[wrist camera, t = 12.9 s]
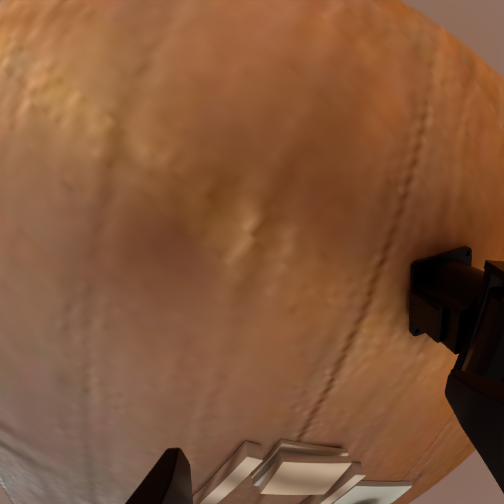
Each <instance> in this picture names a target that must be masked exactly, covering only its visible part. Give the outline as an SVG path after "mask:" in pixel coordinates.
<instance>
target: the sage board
mask: <svg viewBox="0 0 504 504" xmlns="http://www.w3.org/2000/svg"><path fill="white" fill-rule="evenodd" d="M411 487H412V484H411V482H410V481H403V482H384V481H359V482H358V483H357V484H355V485H354V486H353V487H352V488H350V489H349V490H348V491H347V492H345V493H344V494H343V495H342V496H340V497H339V498H338V499H336V500H335V501H334V502H332V503H331V504H367V503H376V504H391V503H392V502H393V501H395V500H396V499H397V498H399V497H400V496H401V495H402V494H403V493H405V492H406V491H407V490H408V489H410V488H411Z"/></svg>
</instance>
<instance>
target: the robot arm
mask: <svg viewBox="0 0 504 504" xmlns="http://www.w3.org/2000/svg"><path fill="white" fill-rule="evenodd" d="M466 252H467V253H466ZM471 261H472V250H471V248H470V247H467V246H465V247H461V248H458V249H455V250H452V251H448V252H445V253H441V254H438V255H434V256H431V257H428V258H424V259H420V260H417V261H414V262H413V263H412V265H411V291H410V316H409V319H410V333H411V334H412V335H413V336H418V335H421V334H423V333H426V334H427V335H428V336H430V337H431V338H432V339H433V340H434V341H435V342H437V343H439V342H441V343H443V344H444V345H445V346H446V347H447V348H448V349H450V350H451V351H452V352H453V353H454V354H455V355H456V354H458V353H459V355H458V358H457V360H456V363H455V365H454V368H453V369H452V370H451V372H450V374H449V375H448V379H447V383H446V388H445V396H446V398H447V400H448V402H449V404H450V406H451V408H452V409H453V411H454V413H455V415H456V417H457V419H458V421H459V423H460V425H461V427H462V428H463V430H464V431H465V433H466V434H467V436H468V437H469V439H470V440H471V442H472V444H473V445H474V447H475V448H476V450H477V451H478V453H479V454H480V456H481V457H482V459H483V461H484V462H485V464H486V465H487V467H488V468H489V470H490V472H491V473H492V475H493V477H494V478H495V480H496V482H497V483H498V485H499V487H500V488H501V490H502V492H503V493H504V262H501V261H490V260H486V261H485V265H484V269H485V271H484V272H483V271H481V270H479V269H477V268H475V267H473V266H471ZM417 266H419V267H418V269H417V270H416V267H417ZM416 329H417V330H416ZM415 330H416V331H415ZM125 504H193V495H192V483H191V471H190V464H189V462H188V460H187V458H186V456H185V455H184V453H183V451H182V450H181V449H180V448H168V449H167V450H166V451H165V452H164V453H163V455H162V456H161V457H160V459H159V460H158V461H157V463H156V464H155V465H154V467H153V468H152V469H151V471H150V472H149V473H148V475H147V476H146V477H145V479H144V480H143V481H142V483H141V484H140V485H139V486H138V488H137V489H136V490H135V492H134V493H133V494H132V496H131V497H130V498H129V499H128V501H127V502H126V503H125Z"/></svg>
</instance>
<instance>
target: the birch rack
mask: <svg viewBox="0 0 504 504" xmlns="http://www.w3.org/2000/svg"><path fill="white" fill-rule="evenodd" d="M262 461H263V456H262V450H261V445H259V444H255V443H252V442H248V441H245V442H244V443H243V444H242V445H241V446H240V448H239V449H238V450H237V451H236V452H235V453H234V454H233V455H232V457H231V458H230V459H229V460H228V461H227V462H226V463H225V464H224V465H223V466H222V467H221V468H220V470H219V471H218V472H217V473H216V474H215V475H214V476H213V477H212V478H211V479H210V480H209V481H208V482H207V483H206V484H205V485H204V486H203V487H202V488H201V489H200V490H199V491H198V492H197V493H196V494H195V495H194V496H193V504H217V503H218V502H219V501H220V500H222V499H223V498H224V497H225V496H226V495H227V494H228V493H230V492H231V491H232V490H233V489H234V488H235V487H236V486H237V485H238V484H239V483H240V482H242V481H243V480H244V479H245V478H246V477H247V476H248V475H249V474H250V473H251V472H252V471H253V470H254V469H255V468H256V467H257V466H258V465H259V464H260V463H261V462H262ZM365 476H366V474H365V472H364V470H363V468H362V465H361V463H355V462H352V464H351V465H350V466H349V467H348V468H347V470H346V471H345V472H344V473H343V474H342V475H341V477H340V478H339V479H338V480H337V481H336V482H335V483H334V484H333V485H332V487H331V488H330V489H329V490H328V491H327V492H326V493H325V494H319V495H311V496H310V497H309V498H307V499H306V500H305V501H303V502H302V503H301V504H331V503H332V502H334V501H335V500H336V499H338V498H339V497H340V496H342V495H343V494H344V493H345V492H347V491H348V490H349V489H350V488H352V487H353V486H354V485H355V484H357V483H358V482H359V481H360V480H361V479H362V478H364V477H365Z"/></svg>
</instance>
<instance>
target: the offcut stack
mask: <svg viewBox="0 0 504 504" xmlns="http://www.w3.org/2000/svg"><path fill="white" fill-rule="evenodd" d="M348 454H349V452H348V450H347V449H340V448H333V447H326V446H319V445H313V444H307V443H301V442H295V441H290V440H285V439H280V441H279V442H278V443H277V444H276V445H275V446H274V448H273V449H272V450H271V451H270V452H269V453H268V455H267V456H266V457H265V458H264V459H263V461H262V462H261V463H260V464H259V465H258V466H257V467H256V468H255V469H254V470H253V471H252V472H251V478H253V485H255V486H260V493H261V494H281V495H319V494H325V493H326V492H327V491H328V490H329V489H330V488H331V487H332V485H333V484H334V483H335V482H336V481H337V480H338V479H339V478H340V477H341V475H342V474H343V473H344V472H345V471H346V470H347V468H348V467H349V466H350V465H351V464H352V462H351V460H350V457H349V456H347V455H348Z"/></svg>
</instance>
